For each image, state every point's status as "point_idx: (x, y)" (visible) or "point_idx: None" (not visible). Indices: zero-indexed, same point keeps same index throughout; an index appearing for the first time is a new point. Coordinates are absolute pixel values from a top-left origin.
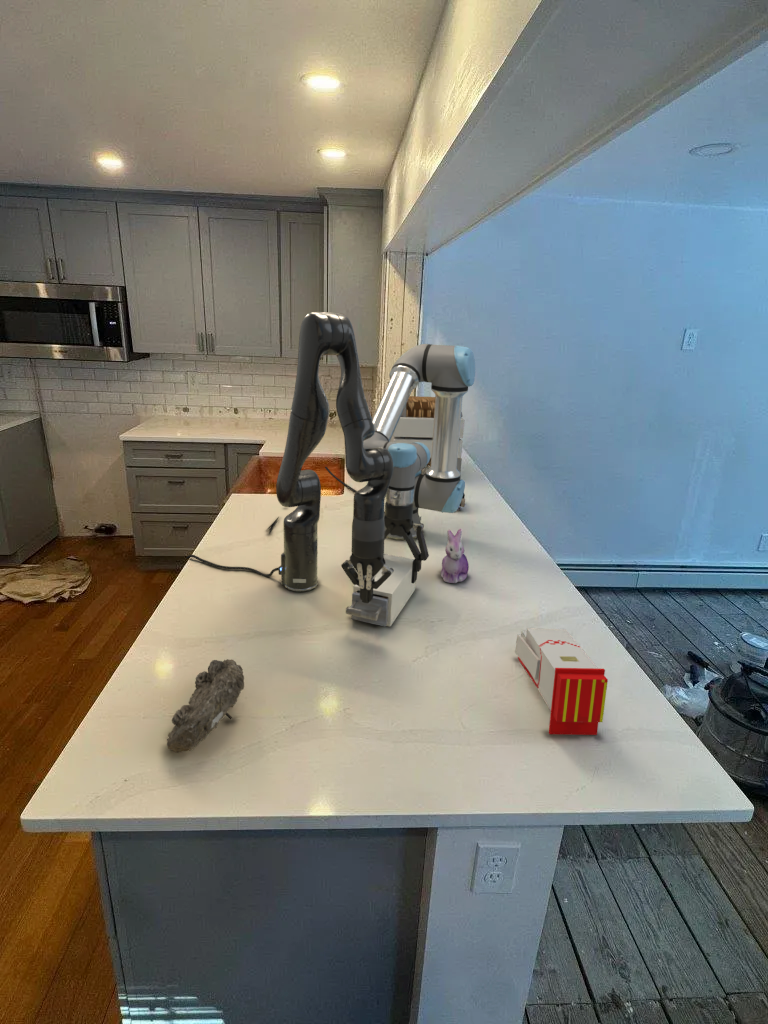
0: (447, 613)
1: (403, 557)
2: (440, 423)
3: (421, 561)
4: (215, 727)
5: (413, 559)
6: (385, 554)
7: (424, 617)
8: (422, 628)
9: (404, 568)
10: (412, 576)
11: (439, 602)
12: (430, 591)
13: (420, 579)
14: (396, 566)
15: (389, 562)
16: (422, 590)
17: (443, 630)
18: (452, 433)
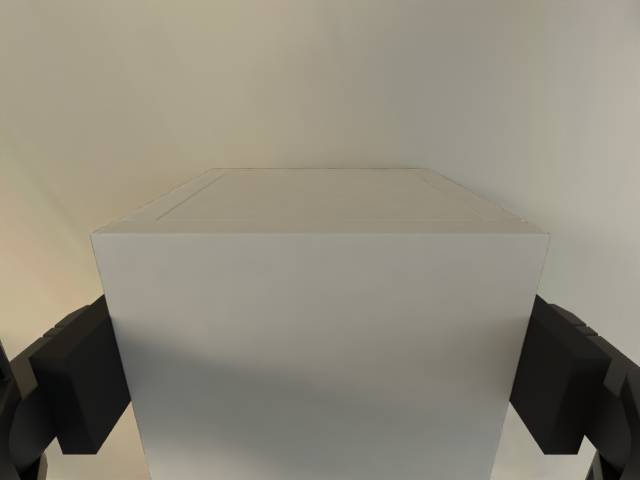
0: (614, 337)
1: (370, 241)
2: None
3: (636, 365)
4: None
5: (502, 246)
6: (135, 250)
7: None
8: (510, 459)
9: (441, 456)
10: None
11: (577, 257)
12: (521, 156)
13: (436, 2)
14: (360, 448)
15: (268, 405)
16: (472, 163)
17: (591, 446)
18: None
